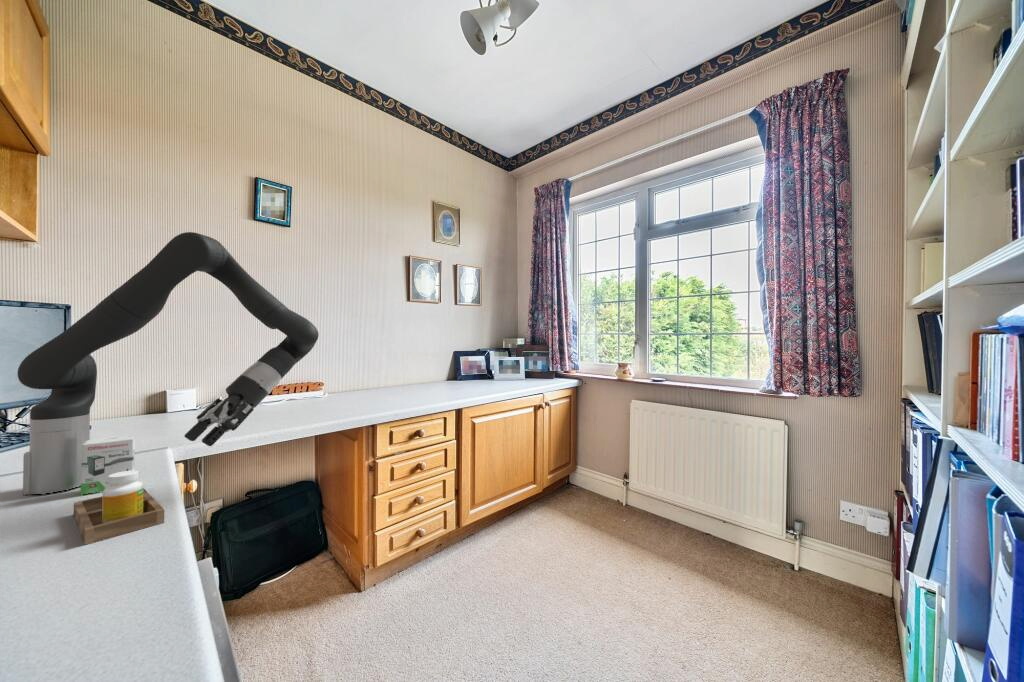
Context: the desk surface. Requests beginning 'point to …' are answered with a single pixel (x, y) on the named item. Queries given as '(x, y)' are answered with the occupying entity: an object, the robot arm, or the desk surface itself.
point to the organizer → (94, 530)
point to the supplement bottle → (122, 496)
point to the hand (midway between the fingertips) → (196, 441)
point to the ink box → (105, 461)
